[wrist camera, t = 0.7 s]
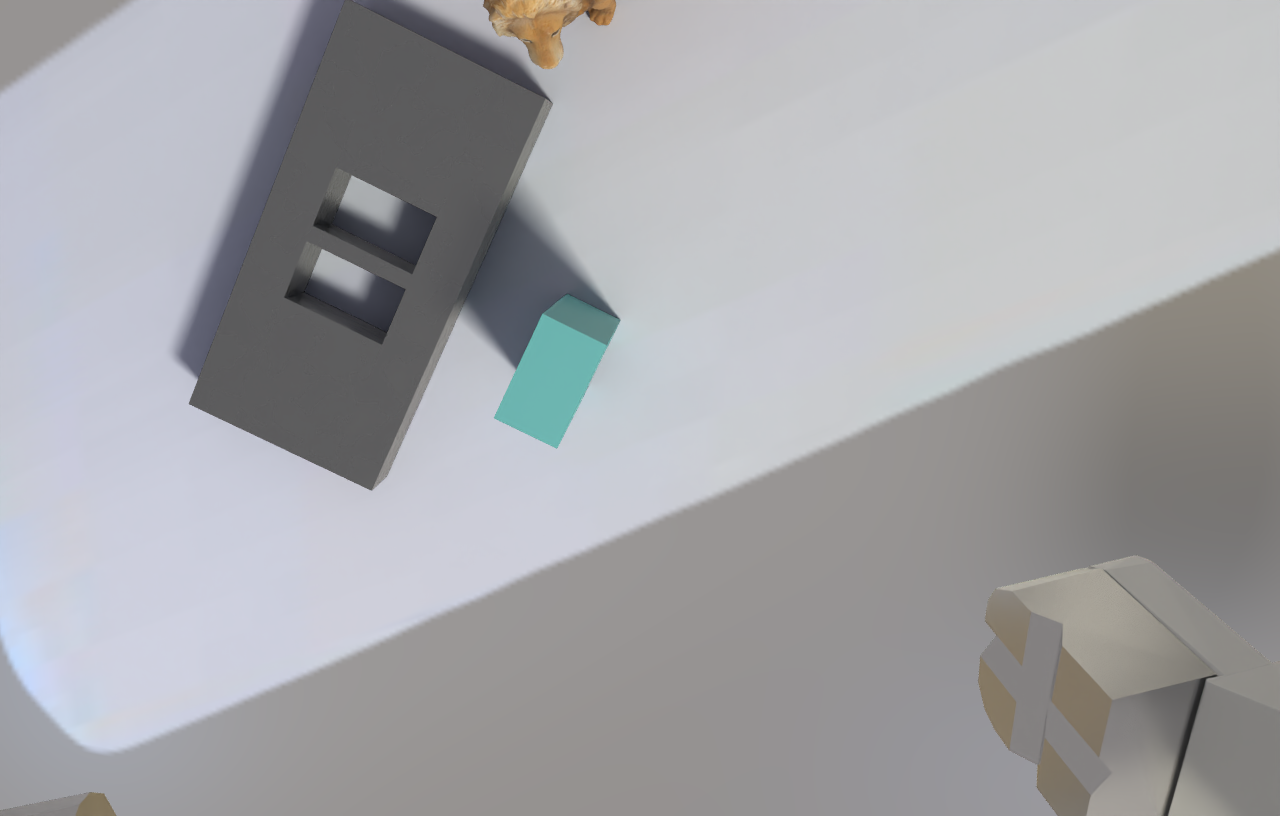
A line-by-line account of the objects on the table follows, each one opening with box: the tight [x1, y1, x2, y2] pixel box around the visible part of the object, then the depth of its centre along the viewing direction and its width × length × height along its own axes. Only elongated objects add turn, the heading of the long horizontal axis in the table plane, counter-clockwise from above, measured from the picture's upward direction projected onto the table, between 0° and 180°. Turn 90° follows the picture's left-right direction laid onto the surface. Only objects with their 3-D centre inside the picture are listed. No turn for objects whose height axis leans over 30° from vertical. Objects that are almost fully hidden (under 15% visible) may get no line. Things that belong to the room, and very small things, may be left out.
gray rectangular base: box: [189, 0, 553, 491], centre depth 47 cm, size 21×10×2 cm, turn 154°
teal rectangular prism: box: [494, 294, 620, 448], centre depth 45 cm, size 5×3×8 cm, turn 154°
